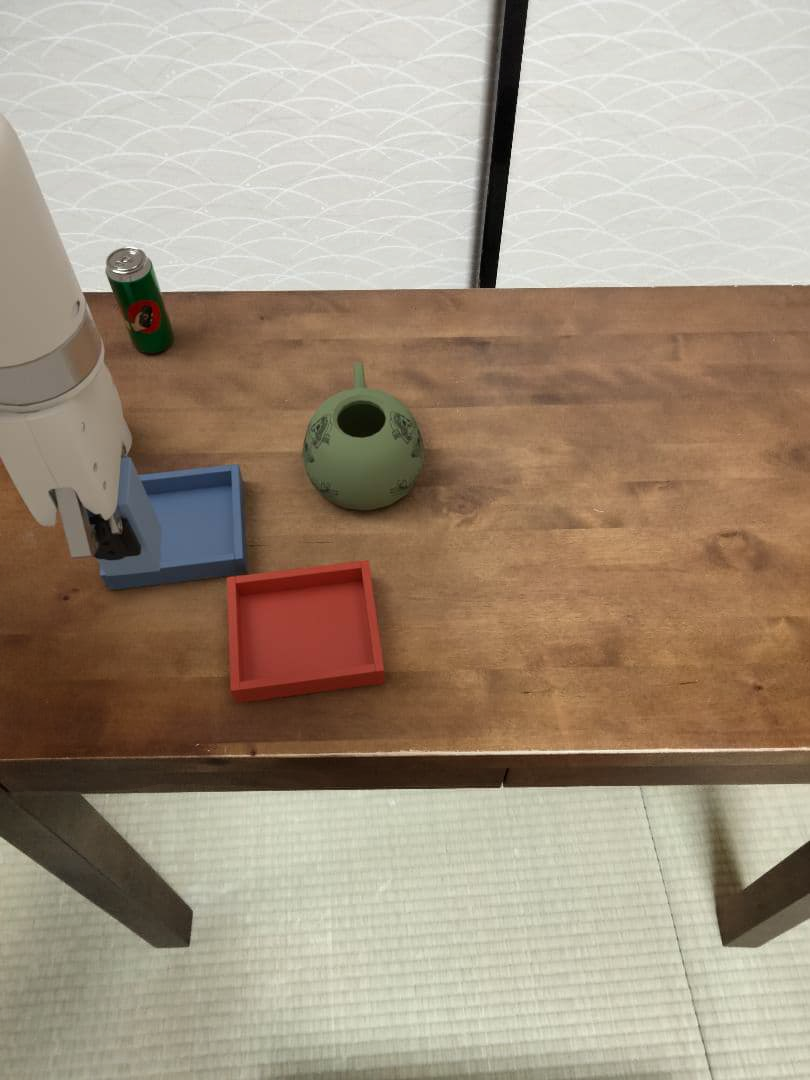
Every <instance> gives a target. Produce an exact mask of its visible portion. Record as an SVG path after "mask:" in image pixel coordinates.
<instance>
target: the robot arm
mask: <svg viewBox="0 0 810 1080" xmlns="http://www.w3.org/2000/svg"><path fill="white" fill-rule="evenodd" d="M50 211H51V210H50V209H49V207H48V204H47V202H46V200H45V196H44V194H43V192H42V189H41V187H40V185H39V182H38V180H37V178H36V175H35V172H34V169H33V168H32V165H31V163H30V160H29V157H28V155H27V153H26V151H25V149H24V146H23V144H22V142H21V140H20V138H19V135H18V134H17V132H16V130H15V129H14V127H13V126H12V124H11V123H10V121H9V120H8V119H7V118H6V117H5V116H4V114H2V113H1V112H0V459H1V462H2V463H3V465H4V467H5V469H6V471H7V473H8V476H9V477H10V479H11V480H12V482H13V485H14V486H15V488H16V490H17V491H18V493H19V495H20V497H21V499H22V501H23V502H24V504H25V505H26V507H27V509H28V510H29V512H30V513H31V516H32V517H33V518H34V519H35V521H36V522H37V523H38V524H40V525H41V526H42V527H56V525H57V517H58V512H59V514H60V515H59V516H60V519H61V523H62V526H63V531H64V534H65V538H66V542H67V546H68V550H69V554H70V557H71V559H73V560H74V559H84V558H85V559H86V558H93V557H94V558H95V559H96V558H97V559H105V560H110V561H111V560H120V559H123V558H124V557H130V556H138V555H140V554H141V546H140V544H139V542H138V540H137V538H136V536H135V534H134V532H133V530H132V528H131V526H130V524H129V522H128V520H127V519H123V518H120V515H119V512H118V510H117V507H116V506H117V499H118V489H119V477H120V464H121V458H126V457H128V454H127V450H126V447H125V445H124V443H123V441H122V434H123V416H124V414H123V411H124V410H123V406H122V402H121V401H122V400H121V397H120V395H119V392H118V389H117V387H116V384H115V381H114V379H113V377H112V374H111V372H110V370H109V367H108V366H107V364H106V361H105V353H106V352H105V346H104V341H103V339H102V336H101V334H100V332H99V329H98V327H97V324H96V322H95V320H94V319H95V318H94V317H93V314H92V312H91V310H90V307H89V305H88V302H87V300H86V297H85V295H84V293H83V291H82V288H81V284H80V283H79V281H78V278H77V275H76V273H75V271H74V268H73V265H72V264H71V261H70V258H69V255H68V253H67V250H66V248H65V246H64V243H63V240H62V239H61V235H60V234H59V231H58V229H57V226H56V224H55V221H54V218H53V216H52V214H51V212H50ZM58 510H59V511H58ZM89 511H91V512H93V513H94V514H100V517H89V518H88V514H87V512H89ZM97 559H96V560H97Z"/></svg>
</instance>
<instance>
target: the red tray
mask: <svg viewBox="0 0 810 1080" xmlns="http://www.w3.org/2000/svg"><path fill="white" fill-rule="evenodd" d="M226 589H227V591H226V592H227V618H228V619H227V620H228V621H227V622H228V643H229V644H228V648H229V677H230V681H229V682H230V692H231V694H232V696H233V698H234V700H235V703H236V704H240V703H248V702H256V701H262V700H270V699H277V698H284V697H291V696H300V695H307V694H315V693H321V692H329V691H336V690H343V689H350V688H351V689H352V688H359V687H365V686H372V685H373V686H374V685H379V684H385V683H386V682H385V680H386V679H385V666H384V659H383V652H382V646H381V645H382V644H381V639H380V638H381V637H380V630H379V624H378V617H377V610H376V603H375V597H374V588H373V582H372V575H371V567H370V560H369V559H365V560H357V561H349V562H341V563H332V564H324V565H316V566H309V567H300V568H292V569H283V570H275V571H267V572H260V573H252V574H242V575H233V576H226Z"/></svg>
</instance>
